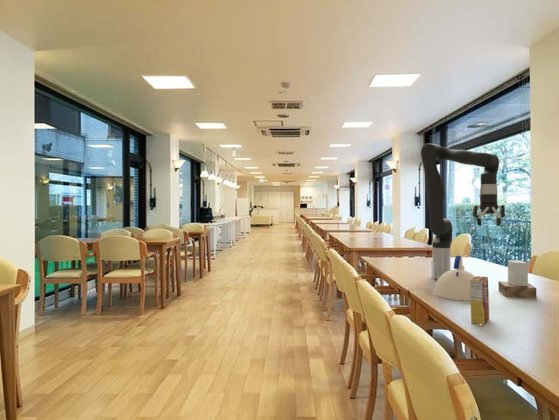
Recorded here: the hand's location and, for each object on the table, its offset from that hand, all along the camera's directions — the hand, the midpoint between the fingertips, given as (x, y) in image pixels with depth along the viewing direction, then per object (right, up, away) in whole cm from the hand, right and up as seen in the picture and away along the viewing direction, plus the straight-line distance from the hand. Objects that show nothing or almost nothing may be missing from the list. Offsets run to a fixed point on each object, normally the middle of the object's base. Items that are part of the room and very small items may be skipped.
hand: (488, 225), depth 191 cm
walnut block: (+3, -31, -18) cm, 36 cm away
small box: (+3, -26, -19) cm, 32 cm away
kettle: (-24, -31, -18) cm, 43 cm away
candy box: (-34, -31, -57) cm, 74 cm away
